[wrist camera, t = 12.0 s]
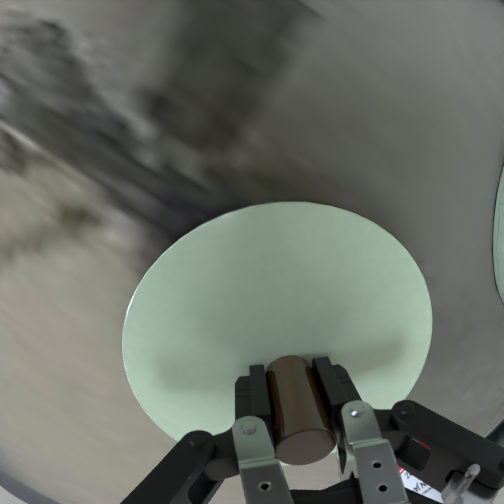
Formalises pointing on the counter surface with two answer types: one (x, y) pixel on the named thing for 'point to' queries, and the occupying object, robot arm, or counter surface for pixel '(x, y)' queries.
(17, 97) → the counter surface
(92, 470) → the counter surface
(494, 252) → the bin
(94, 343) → the counter surface
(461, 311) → the counter surface
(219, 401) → the bin lid
